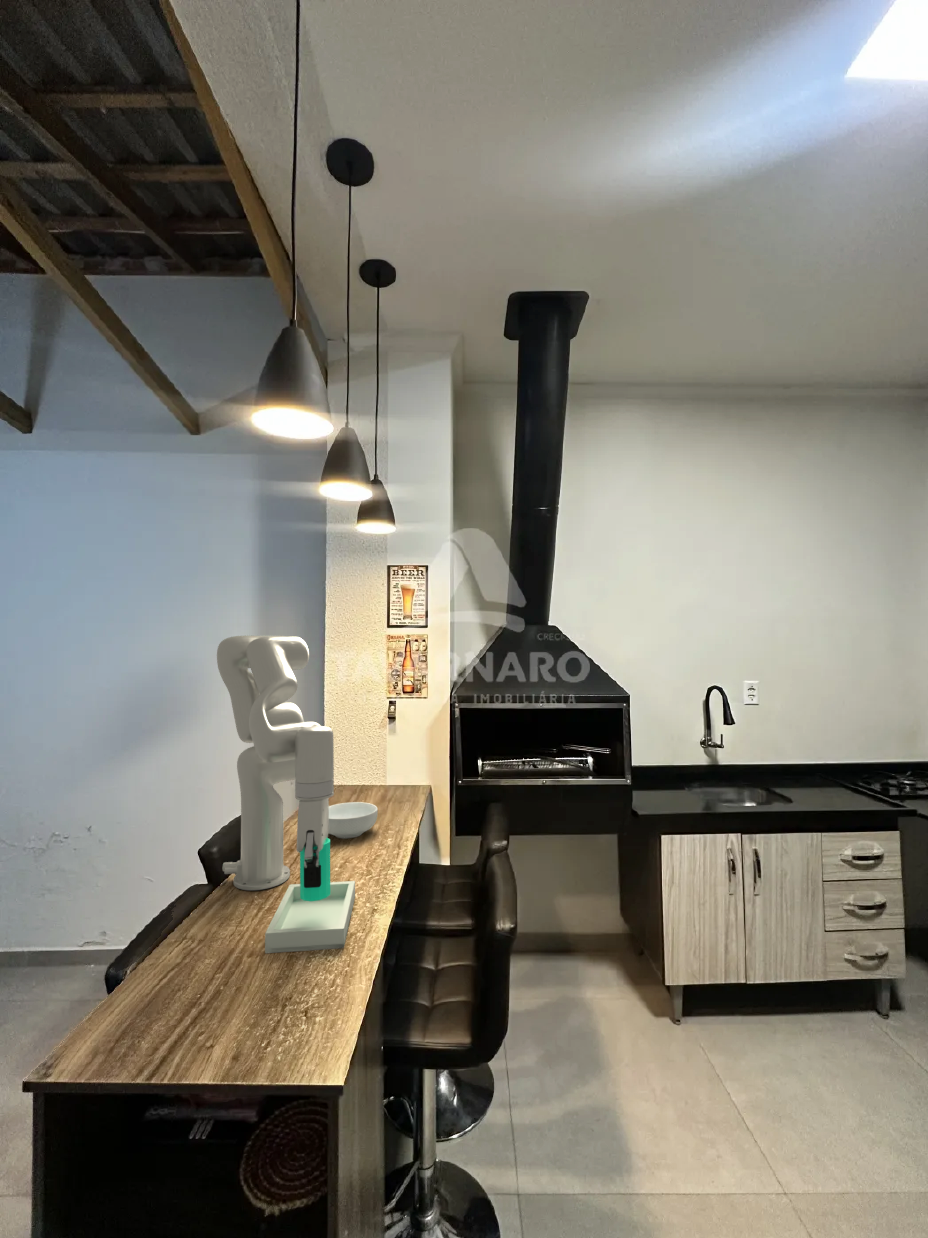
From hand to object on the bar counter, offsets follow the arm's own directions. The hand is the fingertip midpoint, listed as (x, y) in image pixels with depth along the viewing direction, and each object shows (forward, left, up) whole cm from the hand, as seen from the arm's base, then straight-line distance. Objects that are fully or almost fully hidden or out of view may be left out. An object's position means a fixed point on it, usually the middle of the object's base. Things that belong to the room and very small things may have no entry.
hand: (315, 879), depth 108 cm
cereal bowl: (+1, +51, -9) cm, 52 cm away
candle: (0, 0, -3) cm, 3 cm away
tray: (0, 0, -8) cm, 8 cm away
